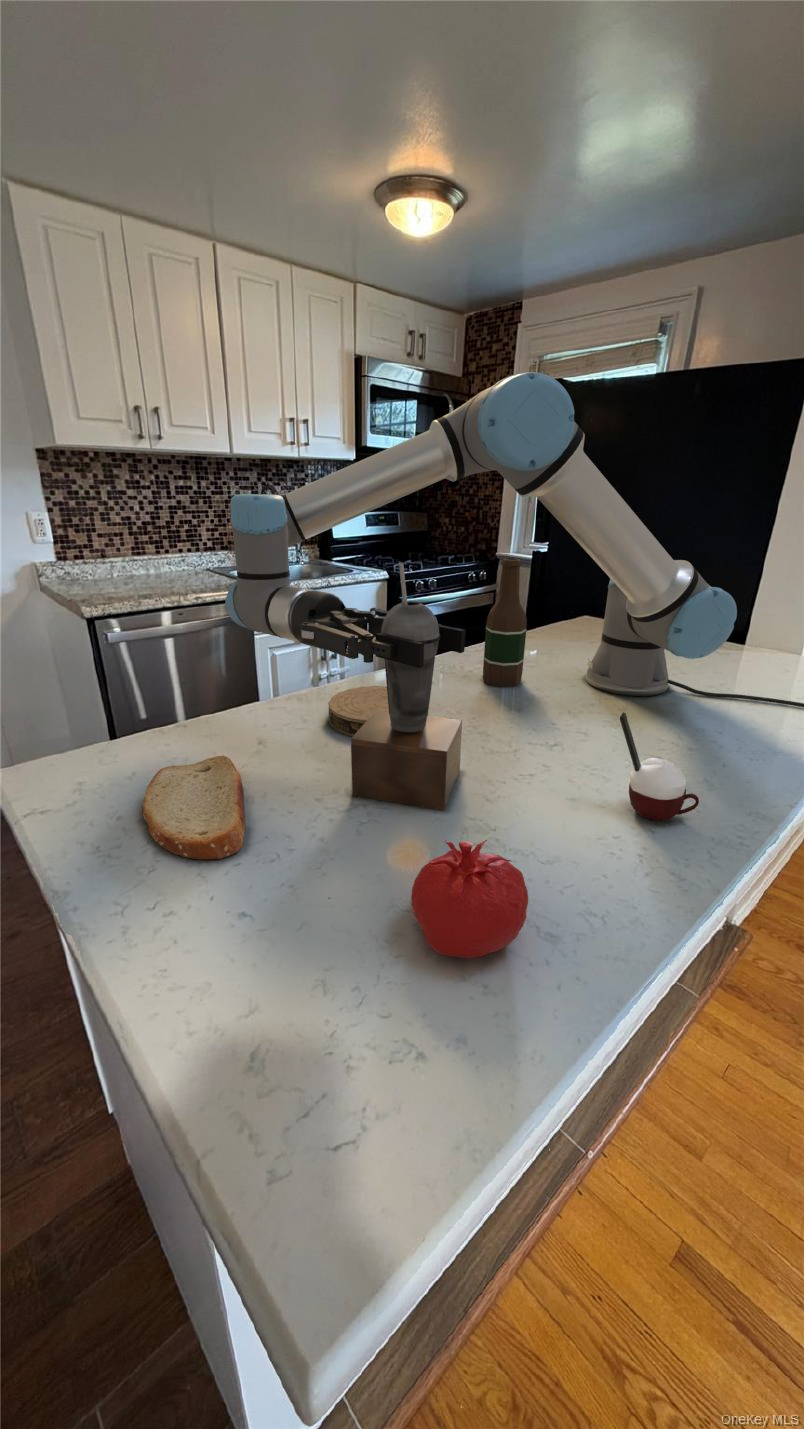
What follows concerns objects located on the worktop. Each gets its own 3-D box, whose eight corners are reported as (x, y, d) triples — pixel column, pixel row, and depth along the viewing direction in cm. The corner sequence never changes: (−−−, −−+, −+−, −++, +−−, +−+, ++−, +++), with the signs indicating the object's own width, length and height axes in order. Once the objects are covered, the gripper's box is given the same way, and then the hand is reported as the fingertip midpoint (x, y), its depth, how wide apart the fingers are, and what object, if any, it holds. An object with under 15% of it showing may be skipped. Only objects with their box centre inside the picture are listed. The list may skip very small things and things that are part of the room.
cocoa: (699, 820, 68) (722, 728, 63) (672, 838, 64) (694, 742, 59) (628, 788, 74) (643, 703, 70) (599, 803, 71) (614, 714, 66)
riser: (459, 773, 78) (462, 719, 75) (444, 810, 69) (447, 751, 66) (376, 761, 81) (376, 709, 78) (352, 795, 72) (350, 738, 69)
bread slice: (221, 868, 58) (217, 838, 57) (88, 832, 64) (81, 804, 62) (307, 787, 74) (305, 761, 72) (193, 764, 80) (190, 740, 78)
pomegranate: (537, 971, 46) (550, 879, 43) (416, 978, 46) (418, 885, 42) (507, 890, 56) (515, 809, 52) (405, 895, 55) (407, 813, 51)
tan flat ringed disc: (390, 746, 85) (390, 728, 84) (309, 724, 93) (308, 707, 92) (440, 713, 98) (441, 697, 97) (365, 695, 106) (364, 680, 104)
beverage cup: (432, 739, 68) (438, 568, 60) (373, 733, 69) (372, 565, 61) (440, 716, 74) (447, 560, 67) (386, 711, 76) (387, 557, 68)
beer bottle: (481, 686, 111) (490, 560, 102) (483, 673, 118) (491, 555, 109) (521, 688, 110) (534, 562, 101) (520, 676, 117) (532, 556, 108)
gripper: (360, 631, 87) (488, 660, 73) (251, 659, 72) (384, 702, 59) (360, 581, 84) (492, 602, 70) (245, 600, 70) (384, 631, 56)
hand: (443, 648), depth 65 cm, fingers closed on beverage cup, 7 cm apart
